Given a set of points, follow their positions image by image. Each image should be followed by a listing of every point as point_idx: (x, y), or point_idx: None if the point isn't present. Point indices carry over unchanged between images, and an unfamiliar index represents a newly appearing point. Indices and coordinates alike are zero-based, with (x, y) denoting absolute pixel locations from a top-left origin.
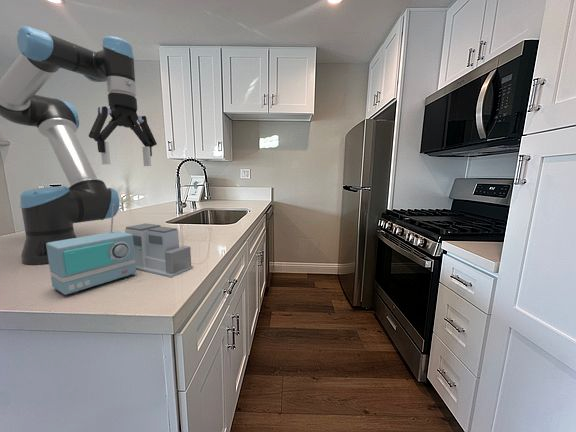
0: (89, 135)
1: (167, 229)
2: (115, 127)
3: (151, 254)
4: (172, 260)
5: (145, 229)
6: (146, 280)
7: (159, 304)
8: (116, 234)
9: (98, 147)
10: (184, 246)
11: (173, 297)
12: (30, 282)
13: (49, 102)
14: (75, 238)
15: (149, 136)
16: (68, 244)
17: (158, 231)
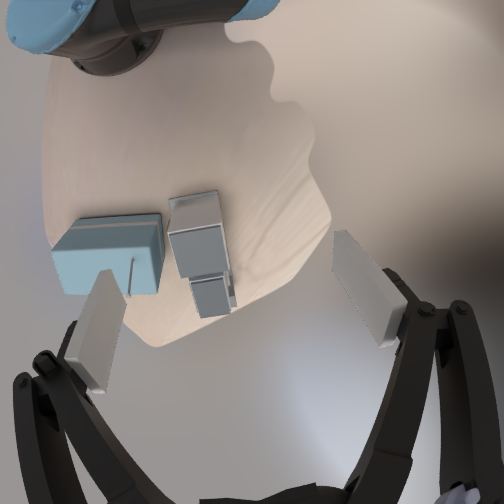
0: (18, 387)
1: (213, 310)
2: (151, 484)
3: None
4: None
5: (190, 275)
6: (167, 277)
7: (153, 332)
8: (136, 276)
9: (66, 345)
10: (232, 299)
11: (168, 331)
12: (61, 163)
13: None
14: (81, 257)
15: (441, 389)
16: (73, 287)
17: (197, 306)
